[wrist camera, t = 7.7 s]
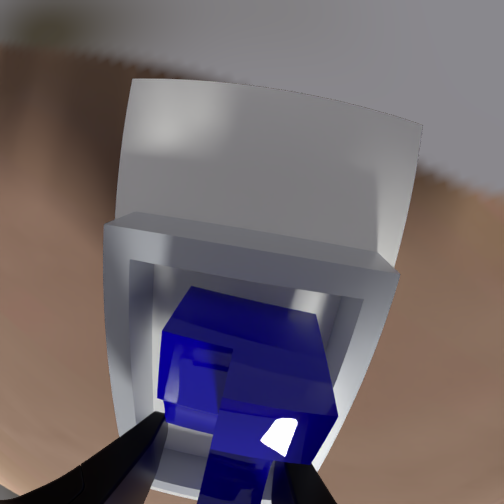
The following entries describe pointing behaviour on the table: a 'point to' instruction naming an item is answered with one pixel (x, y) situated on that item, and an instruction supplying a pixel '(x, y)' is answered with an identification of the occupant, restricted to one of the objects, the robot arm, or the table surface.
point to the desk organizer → (250, 233)
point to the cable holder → (245, 388)
